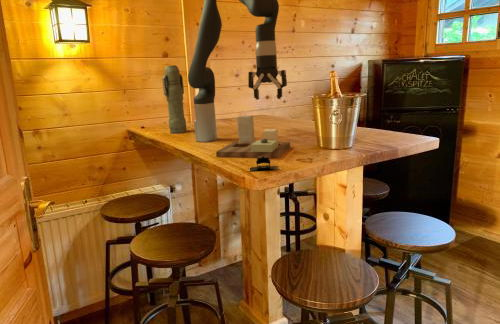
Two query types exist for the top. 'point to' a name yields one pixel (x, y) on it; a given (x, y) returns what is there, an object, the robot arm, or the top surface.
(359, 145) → the top surface
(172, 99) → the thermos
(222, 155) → the puzzle board
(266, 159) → the black stand
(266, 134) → the cream block
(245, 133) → the skincare box
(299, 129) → the top surface
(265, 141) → the lid
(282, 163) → the top surface
